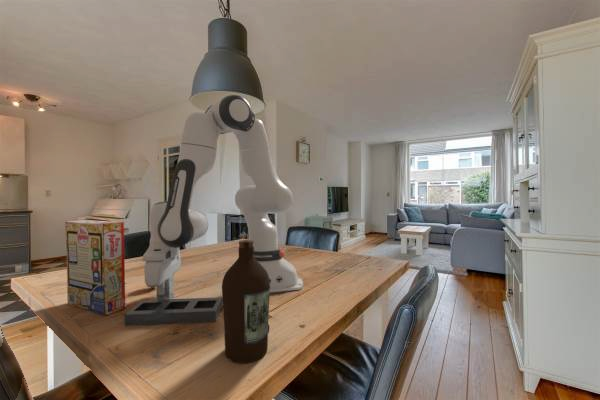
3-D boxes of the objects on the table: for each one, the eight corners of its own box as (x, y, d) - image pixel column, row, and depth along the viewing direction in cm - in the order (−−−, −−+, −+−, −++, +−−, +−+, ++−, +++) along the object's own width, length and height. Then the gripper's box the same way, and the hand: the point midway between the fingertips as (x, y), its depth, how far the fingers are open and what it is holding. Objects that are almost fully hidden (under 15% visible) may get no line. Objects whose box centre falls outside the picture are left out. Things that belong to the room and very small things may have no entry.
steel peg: (173, 297, 92) (173, 274, 92) (169, 302, 88) (169, 278, 88) (161, 298, 92) (161, 275, 91) (156, 303, 88) (156, 278, 87)
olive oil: (212, 352, 60) (212, 241, 60) (250, 333, 68) (249, 235, 68) (242, 372, 53) (241, 247, 53) (279, 349, 62) (279, 240, 61)
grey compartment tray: (222, 306, 85) (222, 297, 85) (215, 321, 75) (215, 311, 75) (142, 309, 82) (142, 300, 82) (124, 325, 73) (124, 314, 72)
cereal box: (126, 308, 84) (124, 221, 83) (104, 316, 78) (103, 223, 77) (87, 297, 92) (86, 219, 91) (65, 304, 86) (63, 220, 86)
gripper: (167, 244, 99) (167, 281, 100) (139, 257, 79) (140, 303, 79) (185, 243, 100) (185, 280, 100) (162, 256, 80) (162, 302, 80)
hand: (165, 291), depth 90 cm, fingers closed on steel peg, 4 cm apart
